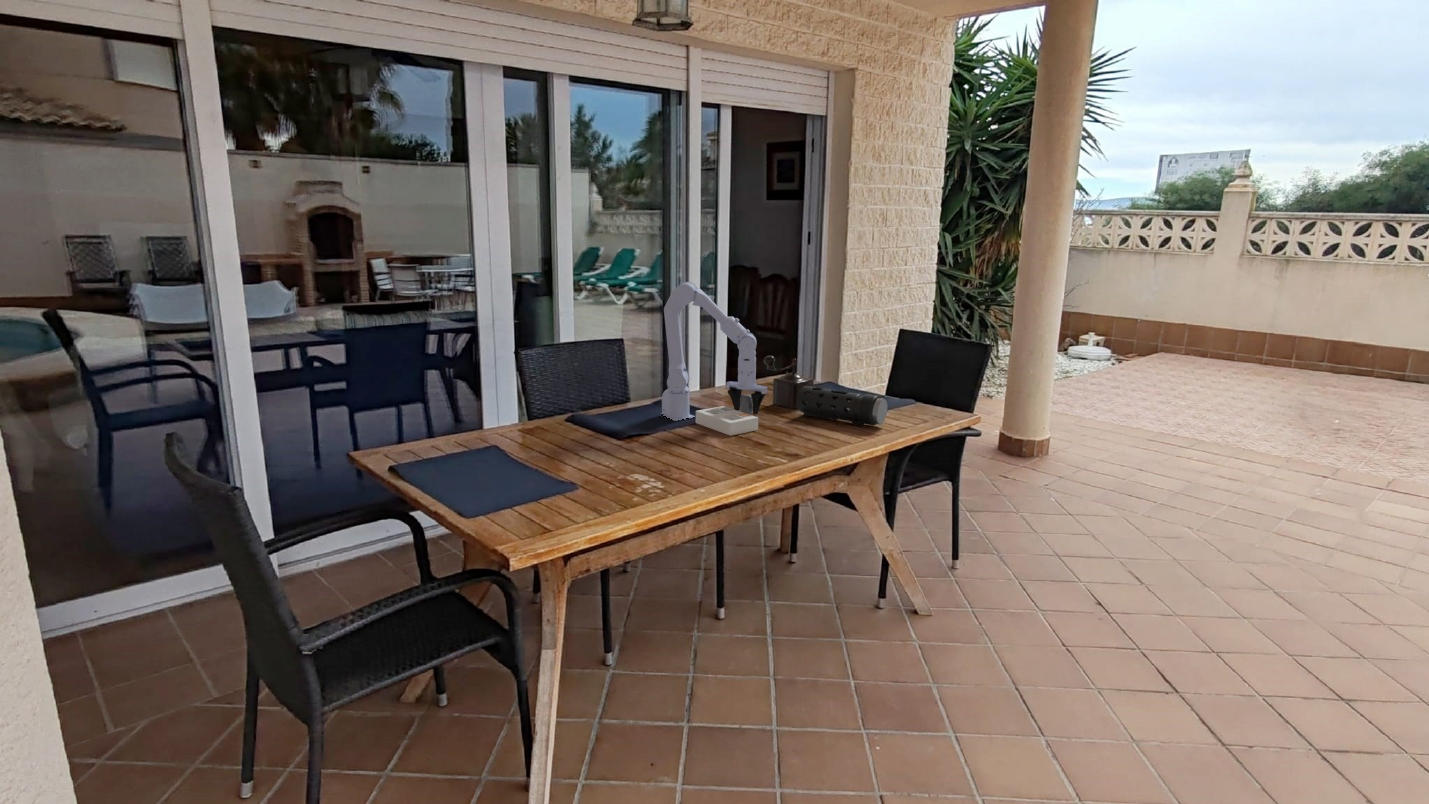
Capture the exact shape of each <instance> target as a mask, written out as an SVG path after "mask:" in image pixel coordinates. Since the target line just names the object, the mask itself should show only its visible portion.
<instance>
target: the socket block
mask: <svg viewBox="0 0 1429 804" xmlns="http://www.w3.org/2000/svg"><path fill="white" fill-rule="evenodd" d="M695 424H697V425H699V426H703V427H705V428H709V429H711V430H714V431H717V432H720V433H722V434H725V435H727V436H734V435H740V434H744V433H750V432H754V431H758V430H759V417H758V416H754V415H753V414H752V415H750V414H747V413H743V412H740V410H738V411H737V410H734V408H732V407H728V406H724V405H721V406H716V407H712V408H704V409H699V410H695Z"/></svg>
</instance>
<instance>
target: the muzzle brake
mask: <svg viewBox="0 0 1429 804" xmlns="http://www.w3.org/2000/svg"><path fill="white" fill-rule="evenodd" d="M806 393H810V394H808V395H806ZM804 401H805V402H806V401H807V402H808V404H806V403H805V402H804ZM797 404H798V409H797V410H798V411H799V412H800V413H802V414H803V415H804V416H808V417H812V418H813V417H814V418H818V419H819V418H820V419H823V420H824V419H826V420H834V421H838V420H840V421H845V422H851V423H852V424H853V425H855V426H864V425H869V426H876V425H882V424H883V423H884V422H885V420H886V417H887V414H888V403H887V400H886V399H885V398H882V397H881V396H880V395H877V394H876V395H875V394H868V393H867V394H861V393H855V392H850V391H842V390H836V389H830V388H822V387H818V386H817V387H816V386H813V387H811V386H804V387H803V388H802V389H801V390H800V392H799V395H798V401H797Z"/></svg>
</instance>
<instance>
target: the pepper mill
mask: <svg viewBox="0 0 1429 804" xmlns="http://www.w3.org/2000/svg"><path fill="white" fill-rule="evenodd" d="M775 361H776V358H775V357H774V356H773V355H766V356H765V357H764V359H763V363H764V364H765V365H766V369H767V370H768V371H769V370H770V371H774V372H782V371H785V374H783V375H781V376H780V377H775V378H773V379H772V380H773V386H772V390H773V392H772V404H773V405H775V406H778V407H781V408H785V409H789V410H799V409H798V404H797V401H798V395H799V392H800V390H801V389H802V388H803V387H804V386H811V387H814V382H815V381H814V379H812V378H808V377H805V376H804V377H803V376H802V375H801V374H799V373H797V372H796V365H797V359H796V358H793V359H792V363H791V364H789V366H786V367H783V368H775V367H776V366H775V365H774V364H775ZM791 368H792V372H789V371H787V370H790V369H791ZM808 394H810V393H806V395H808ZM804 402H805V401H804ZM805 403H806V404H808V402H807V401H806V402H805Z"/></svg>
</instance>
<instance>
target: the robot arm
mask: <svg viewBox="0 0 1429 804" xmlns="http://www.w3.org/2000/svg"><path fill="white" fill-rule="evenodd" d="M692 302H693V303H692ZM691 303H692V306H696V307H700V308H702V309H704V310H705V311H706V312H707V314H709V315H710V316H711V317H713V319H715V320H716V321H717V322H718V323H719V329H720V331H722V333H724V334H725V336H726V337H728V339H730V341H732V342H733V343H734V344H736V345H737V349H738V358H737V359H738V360H737V374H738V375H737V381H727V382H726V389H727V393H728V396H729V397H730V400H731V403H732V406H733V409H734V410H737V411H740V395H742V391H745V392H747V391H748V392H752V393H751V394H750V395H751V397H752V402H753V405H752V415H753V416H754V415H758V414H759V410H760V408H761V404H762V402H763V400H764V398H765V396H766V394H768V386H764V385H761V384H760V385H759V384H757V383H756V381H757V380H756V374H757V373H756V372H757V357H756V355H757V352H756V349H757V338H756V336H755V335H754V333H751V331H750V330H749V329H748V328H747V329H746V327H744V326H743V325H742V324H741V323H740V319H739V318H738V317H734V316H732V315H731V316H727V315H726V313H724V311H722V309H721V308H720V307H719V306H718V305H717V304H716V303H715V302H714V300H712V299H711V298H710V297H709V295H707V294H706V292H704V291H703V290H702V289H701V288H700V287H697V286H696V284H695V283H693V282H691V281H684V282H683V283H681V284H680V285H678V286H677V287H675V289H674V290H672V292H671V294H670V296H669V297H668V299H667V301H666V304H665V305H664V307H663V313H664V324H665V325H664V326H665V334H666V343H667V344H666V345H667V354H668V362H669V363H668V377H667V380H666V385H667V389H666V390H664V391H663V393H662V395H661V414H664V415H663V416H666V417H667V419H668V418H670V419H669V420H671V419H672V420H671V421H674V422H679V421H683V420H682V419H684V420H687V419H686V418H689V419H693V417H695V418H696V415H693V414H690V388H689V387H688V384H689V382H690V378H691V377H690V374H689V372H688V371H687V366H686V363H685V362H686V361H685V358H684V346H683V339H682V337H683V336H682V329H681V327H682V326H681V319H680V317H681V315H680V313H681V311H682V310H684V308H685V307H686V306H687V305H688V304H691ZM663 416H662V417H663ZM666 417H665V418H666ZM678 420H679V421H678Z"/></svg>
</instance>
